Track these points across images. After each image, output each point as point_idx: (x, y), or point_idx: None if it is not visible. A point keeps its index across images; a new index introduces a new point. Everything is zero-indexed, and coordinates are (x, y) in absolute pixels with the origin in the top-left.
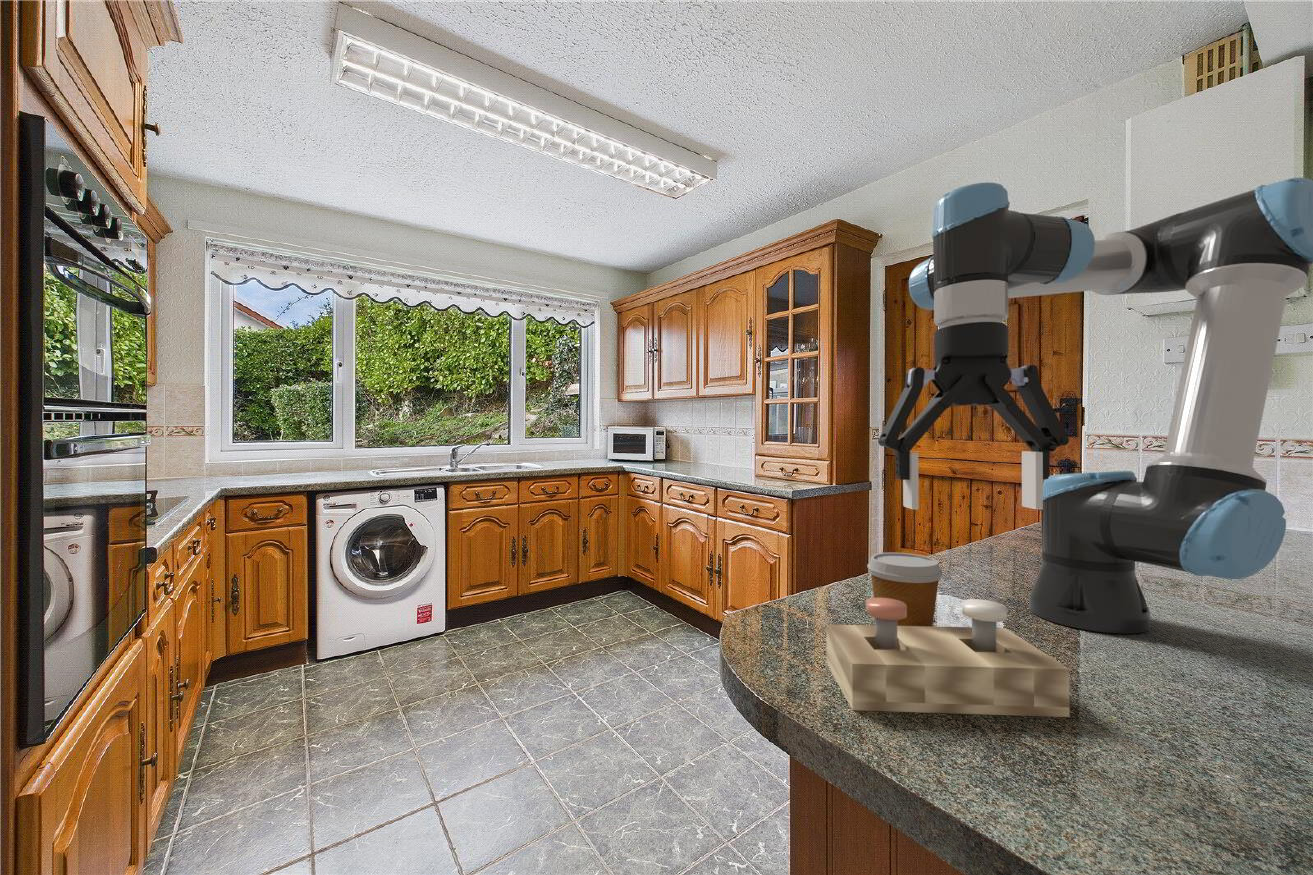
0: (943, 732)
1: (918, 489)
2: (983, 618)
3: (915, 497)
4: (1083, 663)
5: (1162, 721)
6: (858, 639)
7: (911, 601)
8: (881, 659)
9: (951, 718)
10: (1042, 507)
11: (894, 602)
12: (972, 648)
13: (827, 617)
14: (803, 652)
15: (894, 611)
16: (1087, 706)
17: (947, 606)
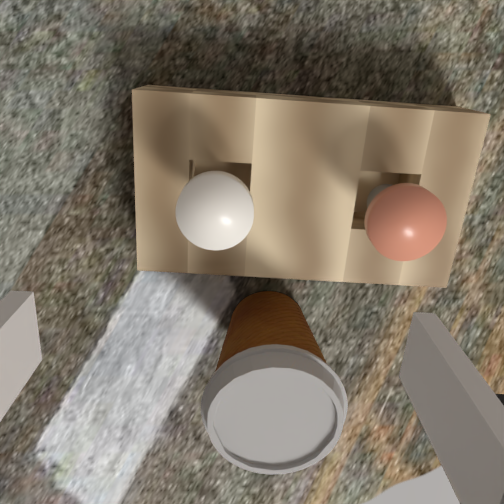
0: (357, 41)
1: (440, 349)
2: (235, 177)
3: (438, 335)
4: (19, 258)
5: (18, 72)
6: None
7: (283, 329)
8: (431, 131)
9: (323, 82)
10: (8, 293)
11: (388, 230)
12: None
13: None
14: (440, 297)
15: (411, 186)
16: (100, 118)
17: (117, 469)
